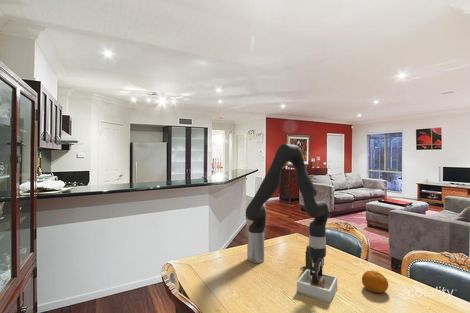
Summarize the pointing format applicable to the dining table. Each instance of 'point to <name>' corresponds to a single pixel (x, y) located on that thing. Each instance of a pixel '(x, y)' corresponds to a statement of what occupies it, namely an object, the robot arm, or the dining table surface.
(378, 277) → the fruit
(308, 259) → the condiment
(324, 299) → the tub
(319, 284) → the walnut cube
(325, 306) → the dining table surface
